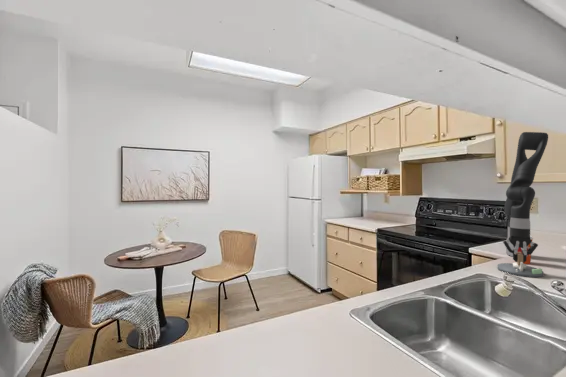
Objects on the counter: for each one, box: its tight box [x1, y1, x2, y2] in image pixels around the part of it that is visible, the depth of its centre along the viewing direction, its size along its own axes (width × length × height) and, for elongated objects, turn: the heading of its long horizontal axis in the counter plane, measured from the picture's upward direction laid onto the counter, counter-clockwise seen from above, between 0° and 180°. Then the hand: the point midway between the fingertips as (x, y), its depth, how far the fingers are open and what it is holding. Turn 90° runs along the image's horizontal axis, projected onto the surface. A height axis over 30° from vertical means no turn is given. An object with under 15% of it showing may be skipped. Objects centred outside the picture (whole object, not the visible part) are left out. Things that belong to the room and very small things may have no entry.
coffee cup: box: [518, 235, 534, 265], centre depth 146 cm, size 8×8×15 cm
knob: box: [512, 252, 527, 271], centre depth 130 cm, size 10×5×7 cm, turn 145°
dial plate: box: [496, 262, 544, 279], centre depth 131 cm, size 17×17×4 cm
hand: (519, 261), depth 131 cm, fingers closed on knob, 2 cm apart
